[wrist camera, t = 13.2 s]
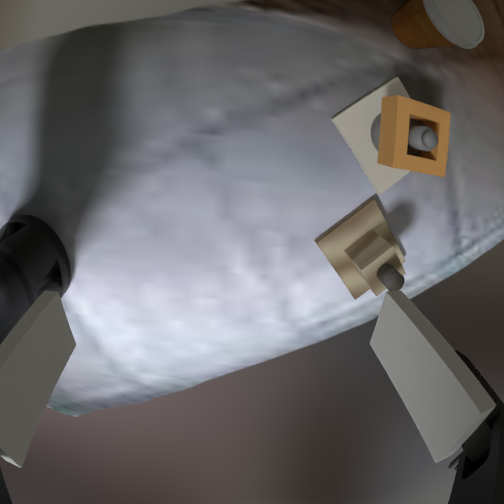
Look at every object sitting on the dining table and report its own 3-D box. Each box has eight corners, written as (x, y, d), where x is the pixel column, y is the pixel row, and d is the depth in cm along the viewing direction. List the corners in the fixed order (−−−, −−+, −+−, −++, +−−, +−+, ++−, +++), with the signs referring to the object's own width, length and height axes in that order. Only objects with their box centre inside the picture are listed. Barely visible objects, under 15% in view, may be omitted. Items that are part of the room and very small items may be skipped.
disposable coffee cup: (435, 24, 26) (486, 9, 15) (429, 69, 30) (485, 62, 19) (385, -7, 24) (431, -36, 13) (376, 38, 28) (427, 16, 17)
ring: (377, 163, 30) (392, 167, 27) (381, 97, 27) (397, 95, 24) (427, 171, 31) (444, 177, 28) (432, 112, 28) (450, 112, 25)
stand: (314, 240, 39) (340, 274, 30) (371, 197, 37) (411, 219, 28) (352, 296, 43) (379, 335, 34) (402, 258, 41) (437, 289, 32)
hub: (330, 118, 32) (366, 116, 23) (394, 77, 30) (439, 69, 21) (376, 193, 37) (417, 214, 28) (432, 149, 35) (478, 160, 25)
